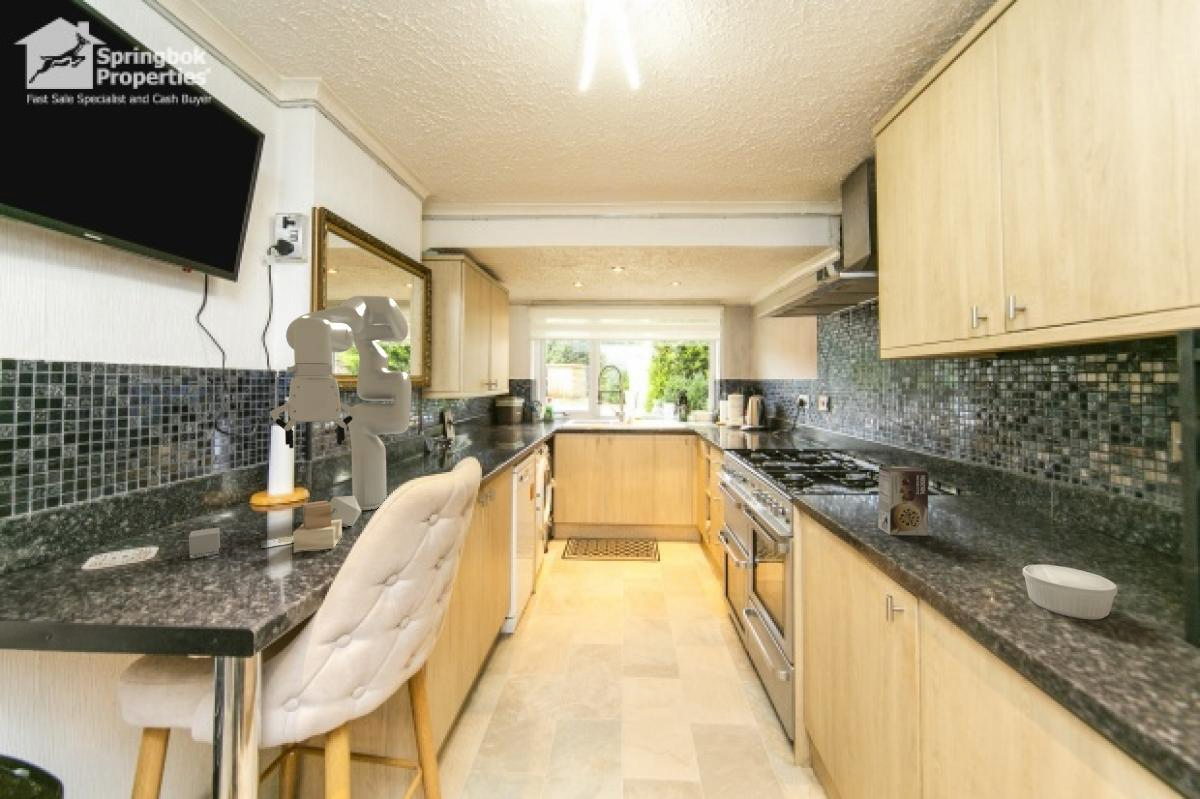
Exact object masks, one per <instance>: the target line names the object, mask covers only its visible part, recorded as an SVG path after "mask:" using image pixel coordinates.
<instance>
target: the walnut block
mask: <svg viewBox="0 0 1200 799" xmlns="http://www.w3.org/2000/svg"><path fill="white" fill-rule="evenodd" d="M329 502H330V501H328V500H321V501H320V500H319V501H313V502H305V503H302V524H303V525H304V527H305V529H306V530H309V529H315V528H321V527H327V526H331V504H330V503H329Z"/></svg>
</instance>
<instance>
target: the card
mask: <svg viewBox="0 0 1200 799" xmlns="http://www.w3.org/2000/svg"><path fill="white" fill-rule="evenodd" d="M291 536H292V537H287V536H285V537H286V538H283V537H284V536H282V538H281V537H279V538H280V539H278V543H281V542H288V541H293V535H291ZM273 541H274V540H273ZM274 542H275V541H274Z"/></svg>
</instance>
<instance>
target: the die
mask: <svg viewBox="0 0 1200 799" xmlns="http://www.w3.org/2000/svg"><path fill="white" fill-rule="evenodd" d="M328 502H329V503H330V504H331V520H341V519H342V527H344V526H353V527H354V525H355V523H356V522H357V520H358V519H359V517H360V516H361V514H362V511H363V510H361V509H360V507H359V505H358V503H357V500H356V498H355V496H353V495H344V496H342V495H341V496H333V497H332V498H331V499H330V501H328Z"/></svg>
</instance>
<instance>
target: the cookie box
mask: <svg viewBox="0 0 1200 799" xmlns="http://www.w3.org/2000/svg"><path fill="white" fill-rule="evenodd" d="M877 521H878V523H877V526H878V529H880V530H881V531H883V532H884V533H886V534H887V535H889V536H929V471H928V470H925V469H924V468H922V467H921V468H920V467H917V466H878V520H877Z"/></svg>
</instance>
